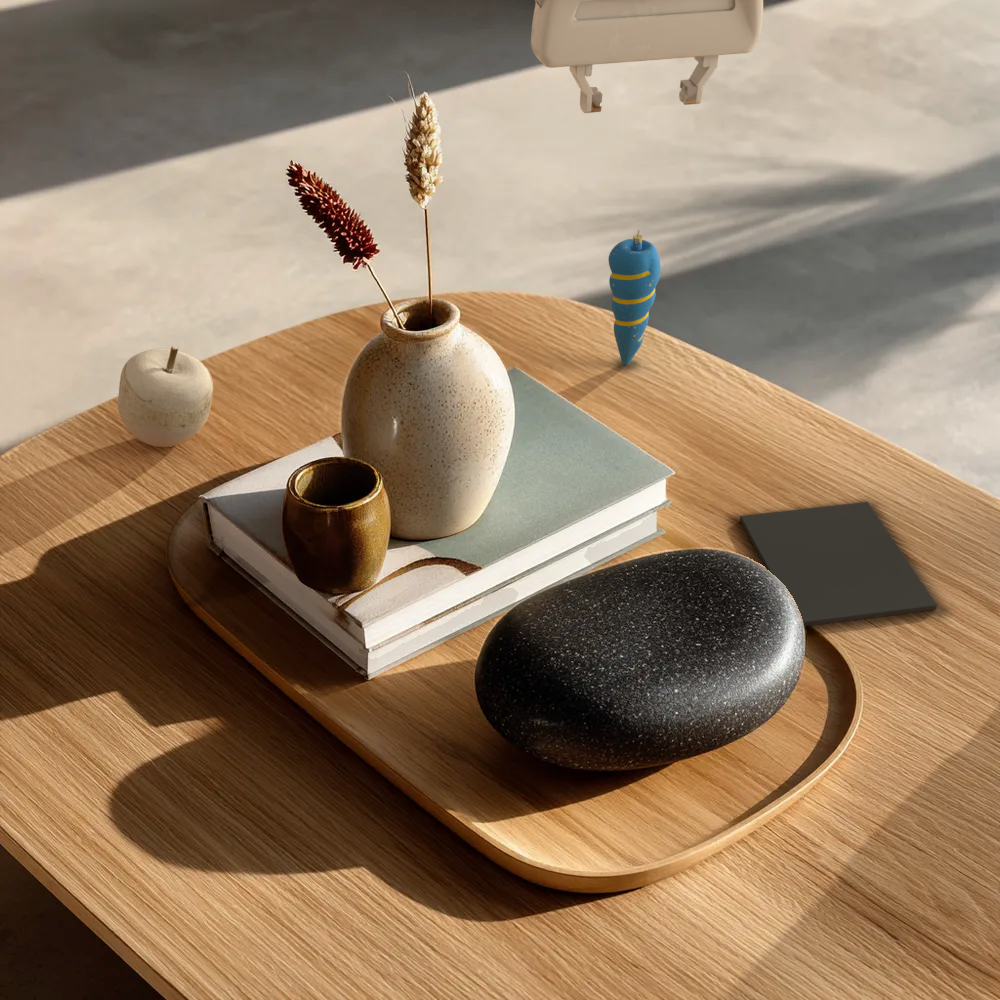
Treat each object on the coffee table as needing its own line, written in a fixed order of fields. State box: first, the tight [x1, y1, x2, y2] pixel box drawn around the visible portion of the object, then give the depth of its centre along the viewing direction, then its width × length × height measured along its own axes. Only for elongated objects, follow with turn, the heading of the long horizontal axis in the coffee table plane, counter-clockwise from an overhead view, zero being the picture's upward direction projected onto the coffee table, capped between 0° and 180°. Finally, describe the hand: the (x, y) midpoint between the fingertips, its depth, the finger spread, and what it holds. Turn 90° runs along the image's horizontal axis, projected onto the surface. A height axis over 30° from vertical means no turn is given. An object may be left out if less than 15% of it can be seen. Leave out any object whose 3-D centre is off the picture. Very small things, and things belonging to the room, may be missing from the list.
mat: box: [739, 501, 938, 627], centre depth 113 cm, size 12×14×1 cm
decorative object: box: [117, 345, 214, 448], centre depth 123 cm, size 9×9×10 cm
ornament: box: [608, 229, 662, 366], centre depth 134 cm, size 5×5×15 cm
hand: (640, 106), depth 120 cm, fingers open, 8 cm apart
